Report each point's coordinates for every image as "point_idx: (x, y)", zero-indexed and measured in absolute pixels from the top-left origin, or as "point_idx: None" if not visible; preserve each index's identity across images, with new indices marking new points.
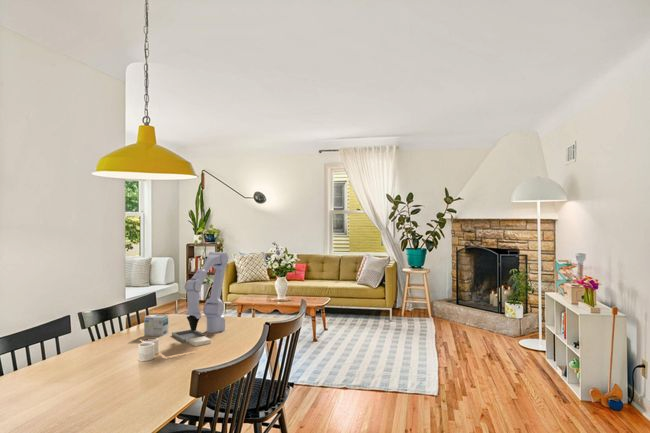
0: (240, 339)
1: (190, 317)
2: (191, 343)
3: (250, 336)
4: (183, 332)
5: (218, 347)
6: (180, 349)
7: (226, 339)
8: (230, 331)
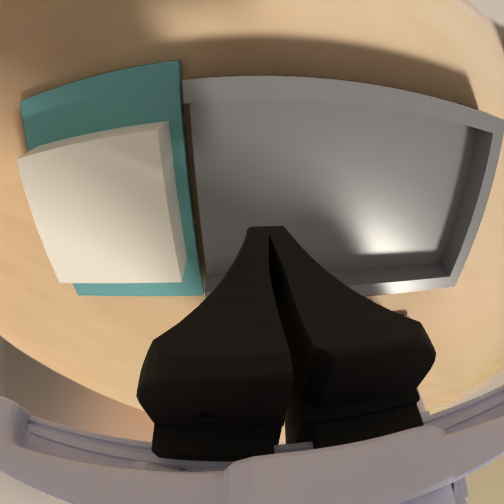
0: (136, 382)
1: (186, 397)
2: (102, 133)
3: None
4: (469, 204)
5: (26, 270)
6: (73, 28)
7: None
8: None
